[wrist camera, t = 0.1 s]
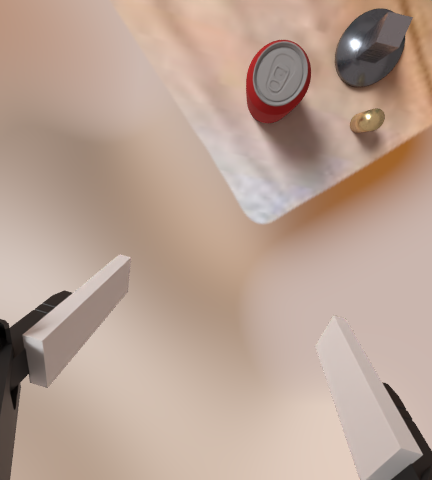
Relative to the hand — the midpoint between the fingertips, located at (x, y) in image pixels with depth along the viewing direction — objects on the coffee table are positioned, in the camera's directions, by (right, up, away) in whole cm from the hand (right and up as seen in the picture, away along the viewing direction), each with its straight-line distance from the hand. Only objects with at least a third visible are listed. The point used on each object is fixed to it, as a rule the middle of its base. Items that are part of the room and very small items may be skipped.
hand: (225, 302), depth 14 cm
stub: (+21, +21, +19) cm, 35 cm away
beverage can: (+7, +25, +19) cm, 33 cm away
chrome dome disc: (+20, +29, +15) cm, 38 cm away
